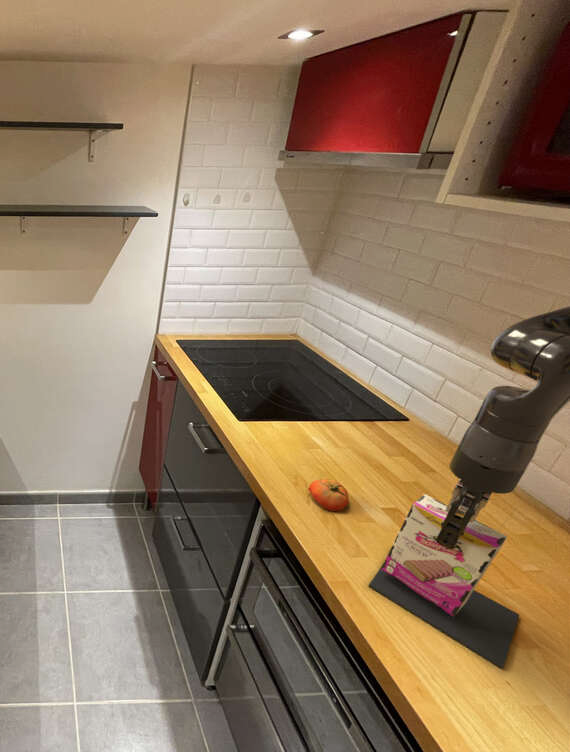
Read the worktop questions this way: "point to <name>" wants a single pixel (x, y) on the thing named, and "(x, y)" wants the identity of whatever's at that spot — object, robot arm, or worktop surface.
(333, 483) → the tomato
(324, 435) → the worktop surface
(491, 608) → the mat
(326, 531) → the worktop surface
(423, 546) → the candy bar box
